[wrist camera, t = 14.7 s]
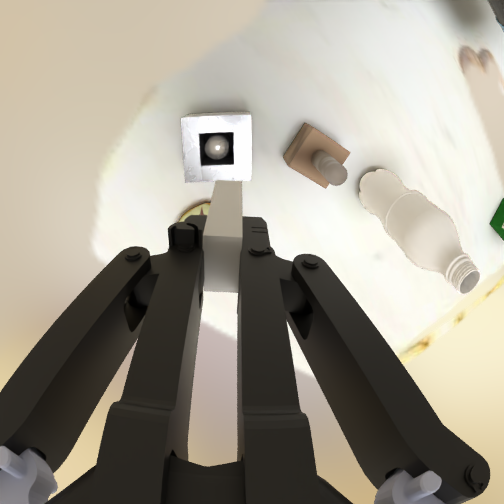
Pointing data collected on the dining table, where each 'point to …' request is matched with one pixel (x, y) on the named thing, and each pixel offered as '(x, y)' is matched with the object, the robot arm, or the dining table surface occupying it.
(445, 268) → the water bottle
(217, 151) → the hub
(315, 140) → the stand
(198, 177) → the square steel tube
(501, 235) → the milk carton
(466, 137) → the dining table surface
